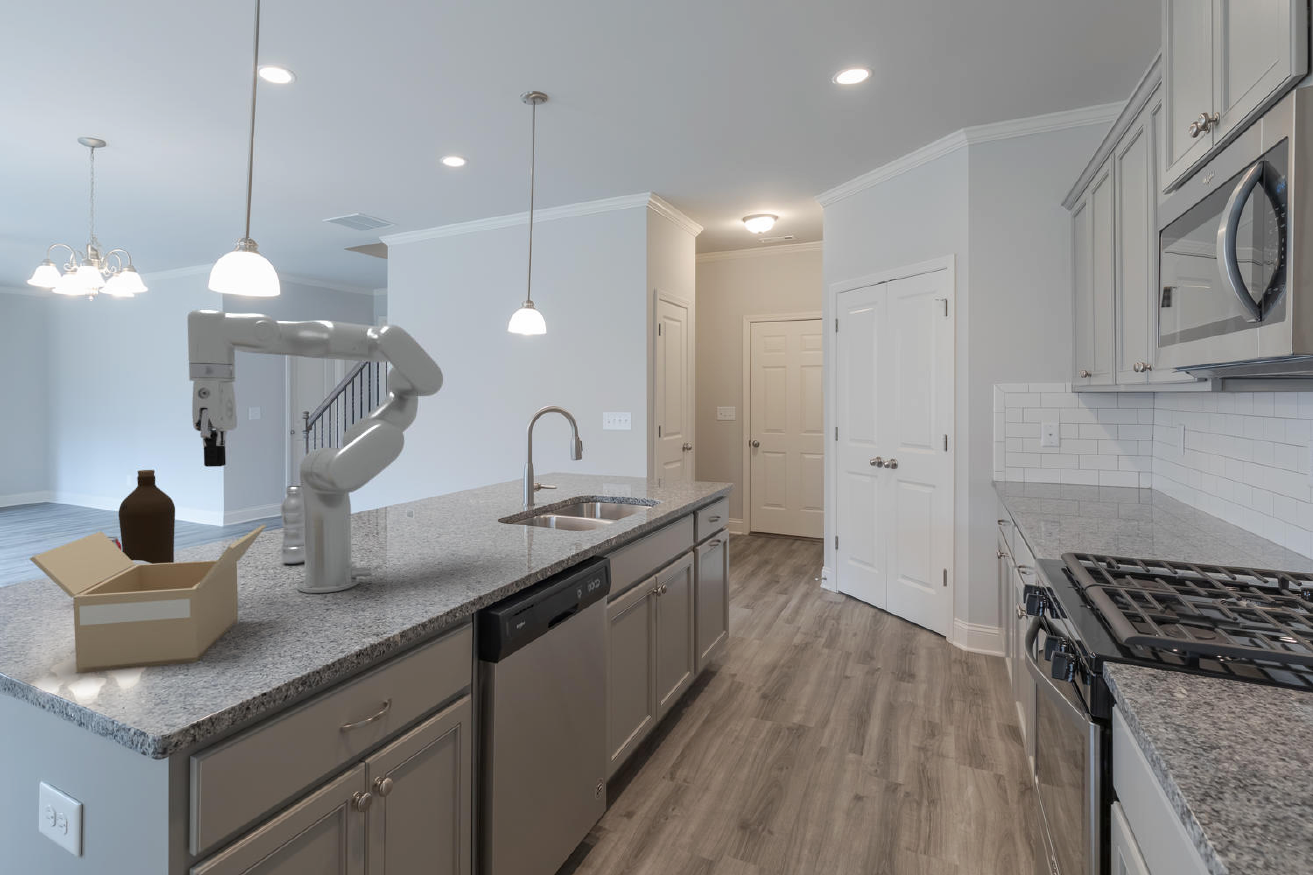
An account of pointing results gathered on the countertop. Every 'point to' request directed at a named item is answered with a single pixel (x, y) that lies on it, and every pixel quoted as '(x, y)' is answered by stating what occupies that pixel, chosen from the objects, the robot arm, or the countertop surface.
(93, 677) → the countertop surface
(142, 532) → the olive oil
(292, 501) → the plastic bottle
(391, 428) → the robot arm
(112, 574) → the flap
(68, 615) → the countertop surface
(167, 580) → the carton
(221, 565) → the flap
